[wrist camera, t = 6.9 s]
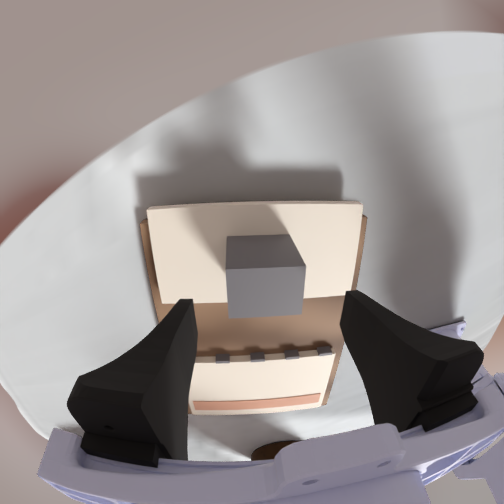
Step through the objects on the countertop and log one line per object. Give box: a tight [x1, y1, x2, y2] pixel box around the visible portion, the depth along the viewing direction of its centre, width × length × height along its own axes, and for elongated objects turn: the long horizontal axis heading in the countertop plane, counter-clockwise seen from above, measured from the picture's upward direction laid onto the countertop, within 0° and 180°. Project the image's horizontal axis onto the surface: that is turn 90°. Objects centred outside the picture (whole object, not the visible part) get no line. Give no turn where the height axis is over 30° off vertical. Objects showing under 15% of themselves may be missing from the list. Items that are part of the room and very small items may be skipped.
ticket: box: [188, 346, 336, 415], centre depth 25 cm, size 9×14×1 cm, turn 91°
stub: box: [147, 201, 363, 319], centre depth 17 cm, size 7×14×5 cm, turn 91°
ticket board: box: [140, 214, 367, 414], centre depth 24 cm, size 22×16×1 cm
